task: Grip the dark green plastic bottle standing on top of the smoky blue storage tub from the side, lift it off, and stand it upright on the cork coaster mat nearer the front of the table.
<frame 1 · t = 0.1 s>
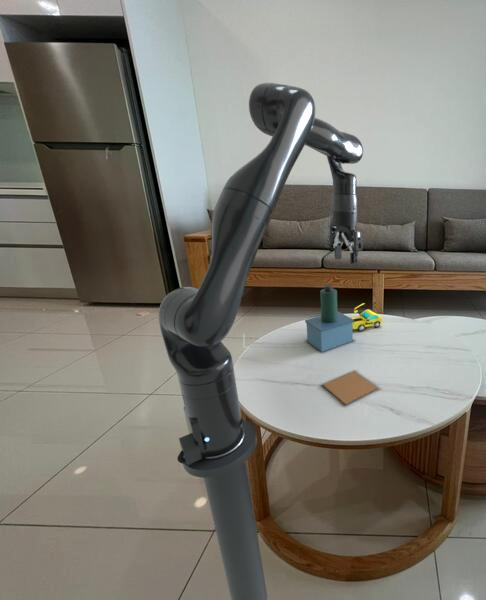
hand: (345, 261, 104), 26 cm above the table, tool pointing down, fingers open, 8 cm apart
mat: (350, 387, 84), on the table
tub: (330, 341, 107), on the table
toy car: (364, 327, 119), on the table
bottle: (329, 319, 105), point 8 cm above the table, touching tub
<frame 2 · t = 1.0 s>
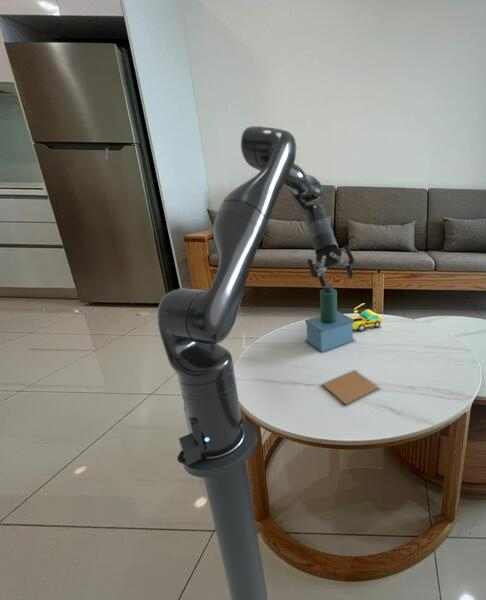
hand: (338, 283, 102), 20 cm above the table, tool tilted 35°, fingers open, 8 cm apart
bottle: (329, 319, 105), point 8 cm above the table, touching gripper
everything else where it was.
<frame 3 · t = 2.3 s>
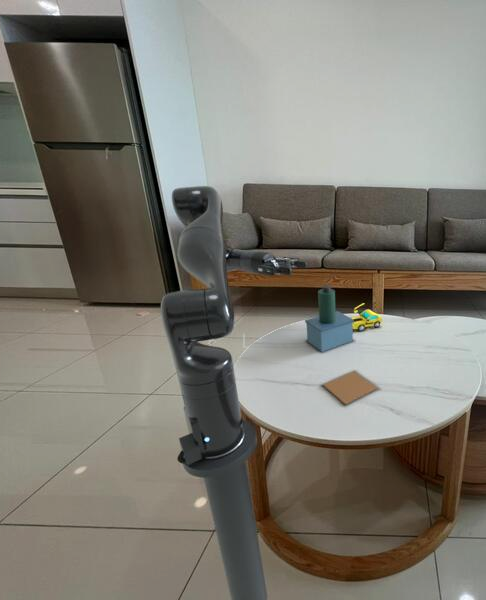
hand: (298, 268, 102), 24 cm above the table, tool horizontal, fingers open, 8 cm apart
bottle: (327, 320, 104), point 8 cm above the table, touching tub
everything else where it was.
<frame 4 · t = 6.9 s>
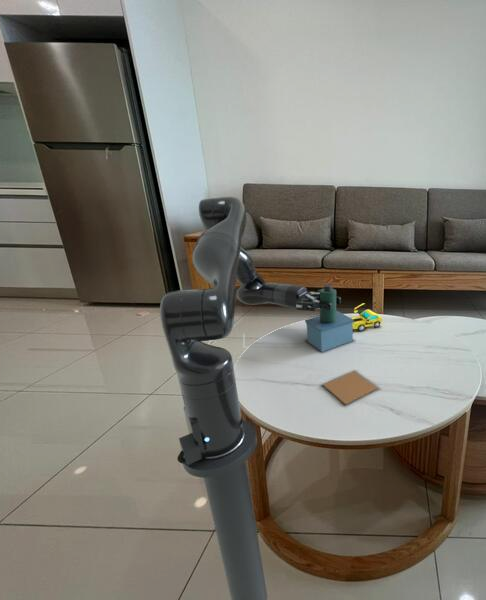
hand: (335, 303, 102), 14 cm above the table, tool horizontal, fingers closed on bottle, 5 cm apart
bottle: (328, 319, 104), point 8 cm above the table, touching gripper, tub
everything else where it was.
when the fingers open (7 cm above the table, at t = 18.2 s): bottle stays where it is, resting on mat.
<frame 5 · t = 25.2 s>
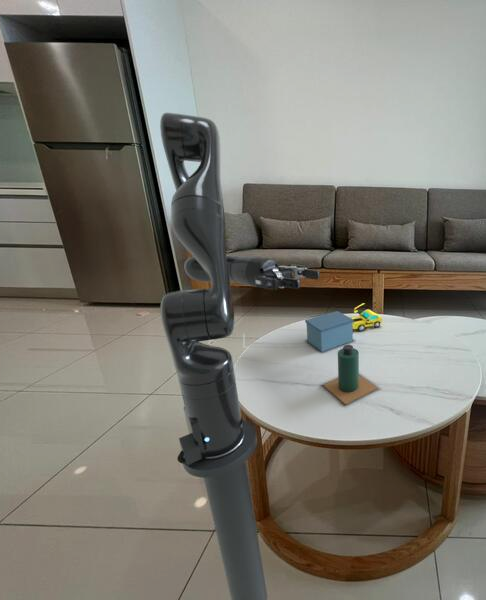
hand: (309, 279, 77), 28 cm above the table, tool horizontal, fingers open, 8 cm apart
bottle: (348, 386, 84), resting on mat
everything else where it was.
at the end: bottle inside the target area on the mat (0.4 cm from its centre), point 0.4 cm above the mat's base; bottle touching mat; bottle tilted 0° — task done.
